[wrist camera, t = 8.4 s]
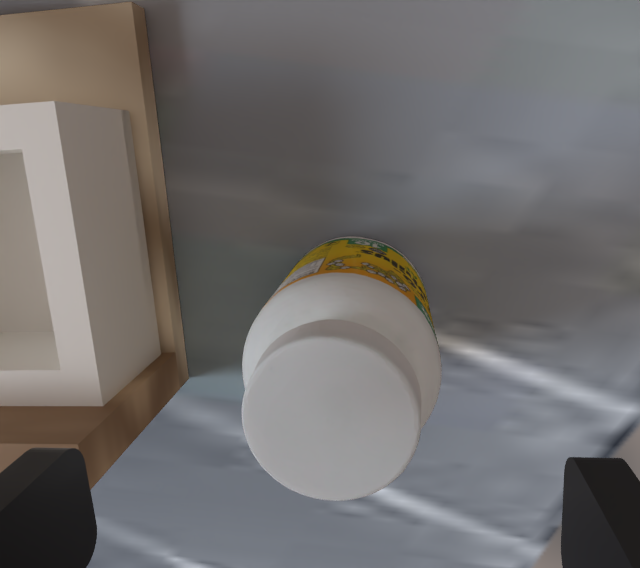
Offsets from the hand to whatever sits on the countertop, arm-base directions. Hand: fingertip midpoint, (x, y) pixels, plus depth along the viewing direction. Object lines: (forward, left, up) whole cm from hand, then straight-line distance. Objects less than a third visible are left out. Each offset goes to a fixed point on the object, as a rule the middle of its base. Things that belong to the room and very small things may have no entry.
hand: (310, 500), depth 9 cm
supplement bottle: (0, 0, -13) cm, 13 cm away
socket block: (+3, +12, -12) cm, 17 cm away
